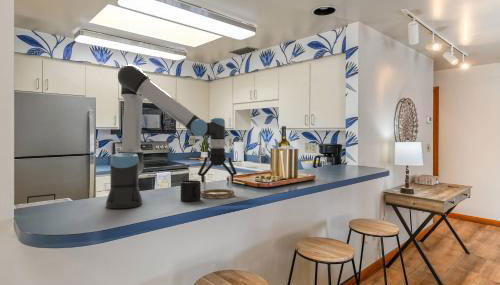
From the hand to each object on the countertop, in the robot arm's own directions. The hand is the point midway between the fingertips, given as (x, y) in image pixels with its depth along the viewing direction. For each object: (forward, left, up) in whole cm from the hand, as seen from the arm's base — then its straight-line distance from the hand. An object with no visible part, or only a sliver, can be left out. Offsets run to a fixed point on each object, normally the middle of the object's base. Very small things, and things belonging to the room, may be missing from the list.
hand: (217, 188), depth 161 cm
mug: (-14, -11, -4) cm, 18 cm away
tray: (0, 0, -4) cm, 4 cm away
